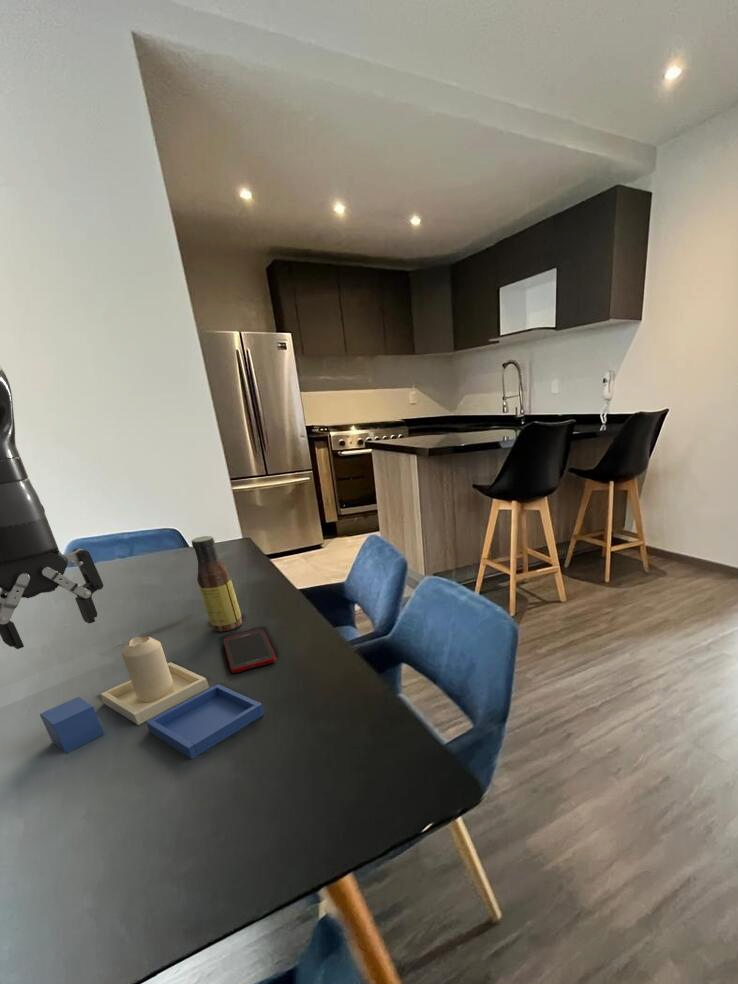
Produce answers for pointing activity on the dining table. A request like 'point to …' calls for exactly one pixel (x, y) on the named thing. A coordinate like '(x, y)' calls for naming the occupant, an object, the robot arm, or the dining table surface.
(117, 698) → the ivory tray
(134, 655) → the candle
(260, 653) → the cell phone
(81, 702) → the blue block
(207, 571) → the sauce bottle
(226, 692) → the blue tray
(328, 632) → the dining table surface
